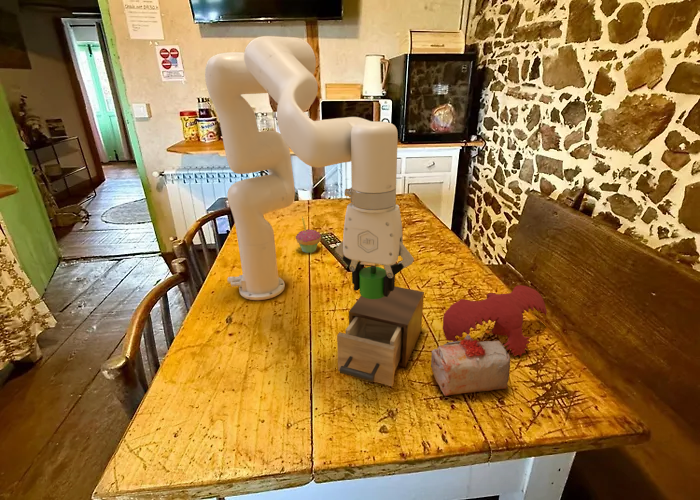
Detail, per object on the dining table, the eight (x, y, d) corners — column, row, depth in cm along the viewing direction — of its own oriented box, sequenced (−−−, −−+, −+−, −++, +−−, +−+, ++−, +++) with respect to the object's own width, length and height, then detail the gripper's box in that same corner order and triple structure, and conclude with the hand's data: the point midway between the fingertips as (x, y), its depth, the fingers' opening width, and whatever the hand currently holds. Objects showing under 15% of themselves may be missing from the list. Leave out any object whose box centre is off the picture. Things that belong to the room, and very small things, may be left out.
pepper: (361, 300, 73) (361, 274, 70) (357, 286, 77) (357, 261, 75) (389, 298, 73) (390, 272, 71) (383, 284, 78) (384, 259, 76)
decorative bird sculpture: (549, 344, 95) (525, 284, 99) (580, 339, 86) (552, 274, 90) (449, 376, 85) (428, 309, 89) (473, 374, 77) (447, 300, 81)
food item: (440, 401, 73) (445, 359, 69) (427, 372, 80) (430, 332, 76) (510, 394, 75) (518, 352, 71) (491, 365, 82) (498, 326, 78)
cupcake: (292, 252, 134) (289, 219, 129) (304, 243, 141) (302, 211, 136) (315, 256, 131) (313, 222, 126) (326, 246, 138) (324, 214, 133)
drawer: (384, 403, 72) (385, 365, 68) (328, 386, 76) (326, 349, 72) (409, 348, 86) (411, 314, 82) (360, 335, 90) (360, 303, 86)
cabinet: (405, 367, 82) (407, 324, 77) (349, 352, 86) (348, 311, 82) (421, 330, 93) (424, 291, 89) (371, 319, 98) (371, 281, 93)
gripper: (319, 199, 67) (323, 291, 75) (417, 210, 61) (411, 309, 69) (337, 188, 74) (340, 274, 81) (428, 196, 68) (422, 289, 75)
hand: (373, 289), depth 75 cm, fingers closed on pepper, 5 cm apart
